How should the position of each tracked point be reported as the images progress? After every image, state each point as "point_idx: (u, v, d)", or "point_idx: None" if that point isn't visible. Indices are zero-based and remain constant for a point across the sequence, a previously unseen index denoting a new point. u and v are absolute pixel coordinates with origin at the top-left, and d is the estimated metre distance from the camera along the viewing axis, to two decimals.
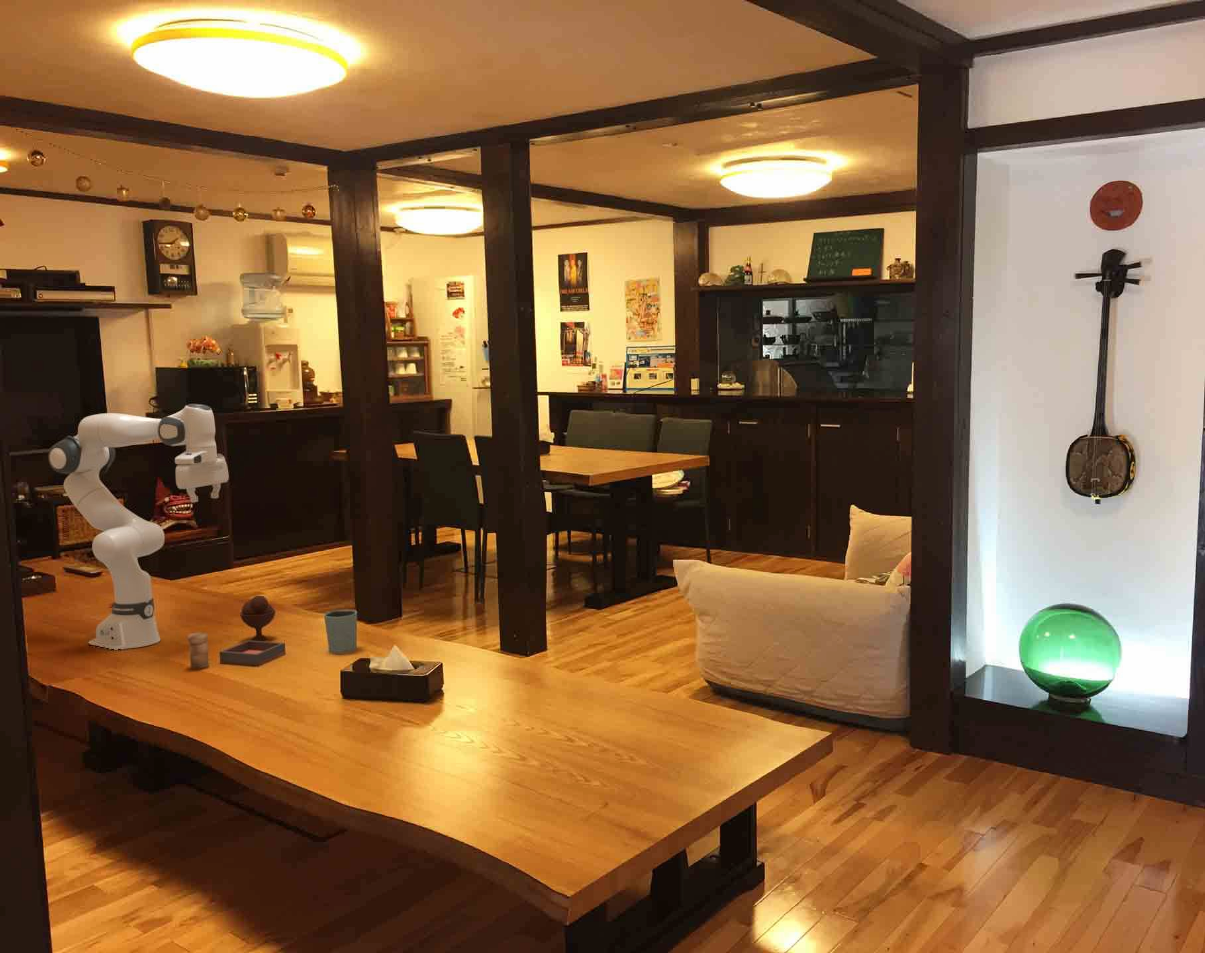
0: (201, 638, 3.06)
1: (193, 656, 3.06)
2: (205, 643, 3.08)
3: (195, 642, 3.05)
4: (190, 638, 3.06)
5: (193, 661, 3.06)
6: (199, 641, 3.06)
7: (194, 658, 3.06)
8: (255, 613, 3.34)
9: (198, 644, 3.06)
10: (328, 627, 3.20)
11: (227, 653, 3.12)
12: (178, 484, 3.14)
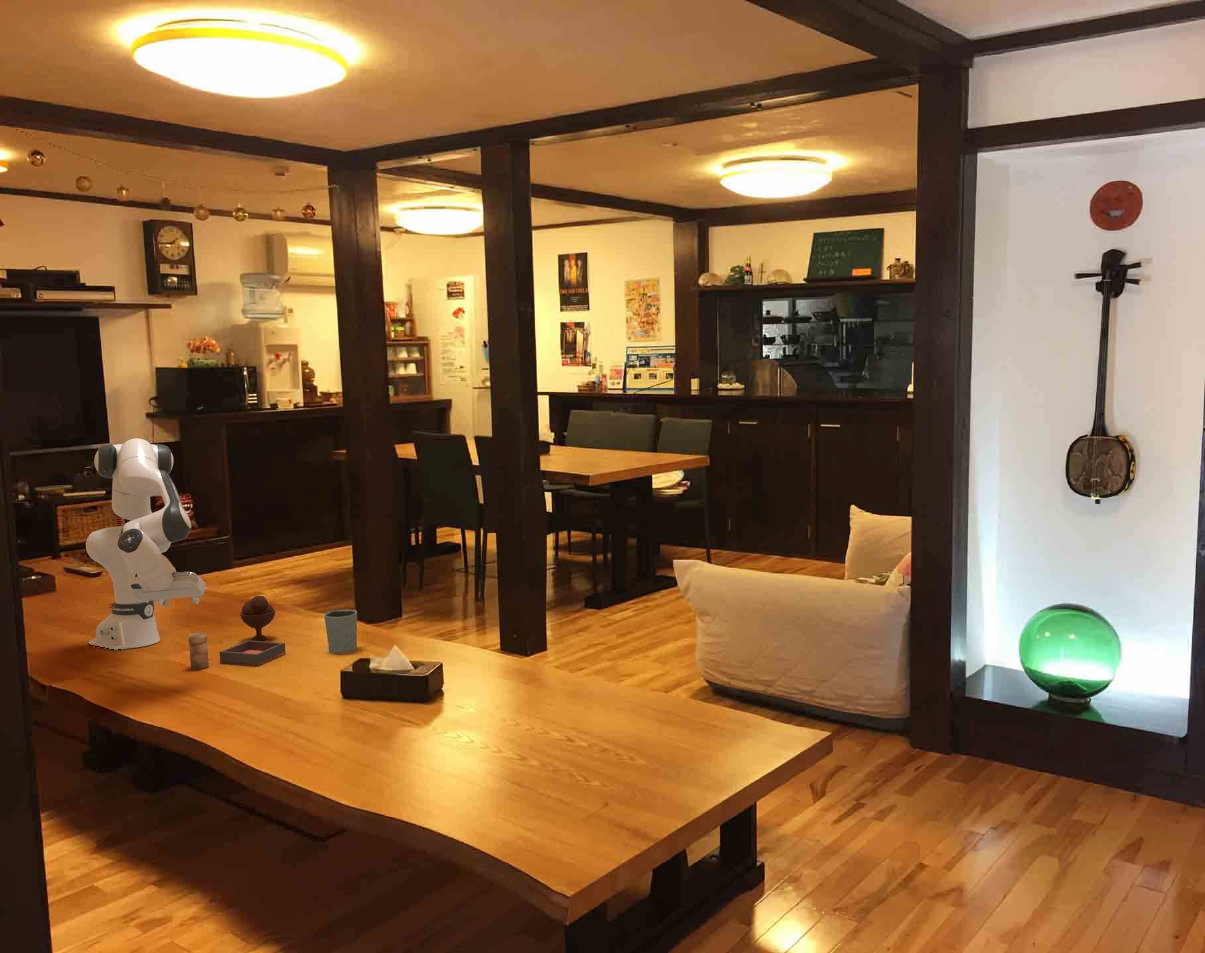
0: (201, 638, 3.06)
1: (193, 656, 3.06)
2: (205, 643, 3.08)
3: (195, 642, 3.05)
4: (190, 638, 3.06)
5: (193, 661, 3.06)
6: (199, 641, 3.06)
7: (194, 658, 3.06)
8: (255, 613, 3.34)
9: (198, 644, 3.06)
10: (328, 627, 3.20)
11: (227, 653, 3.12)
12: None
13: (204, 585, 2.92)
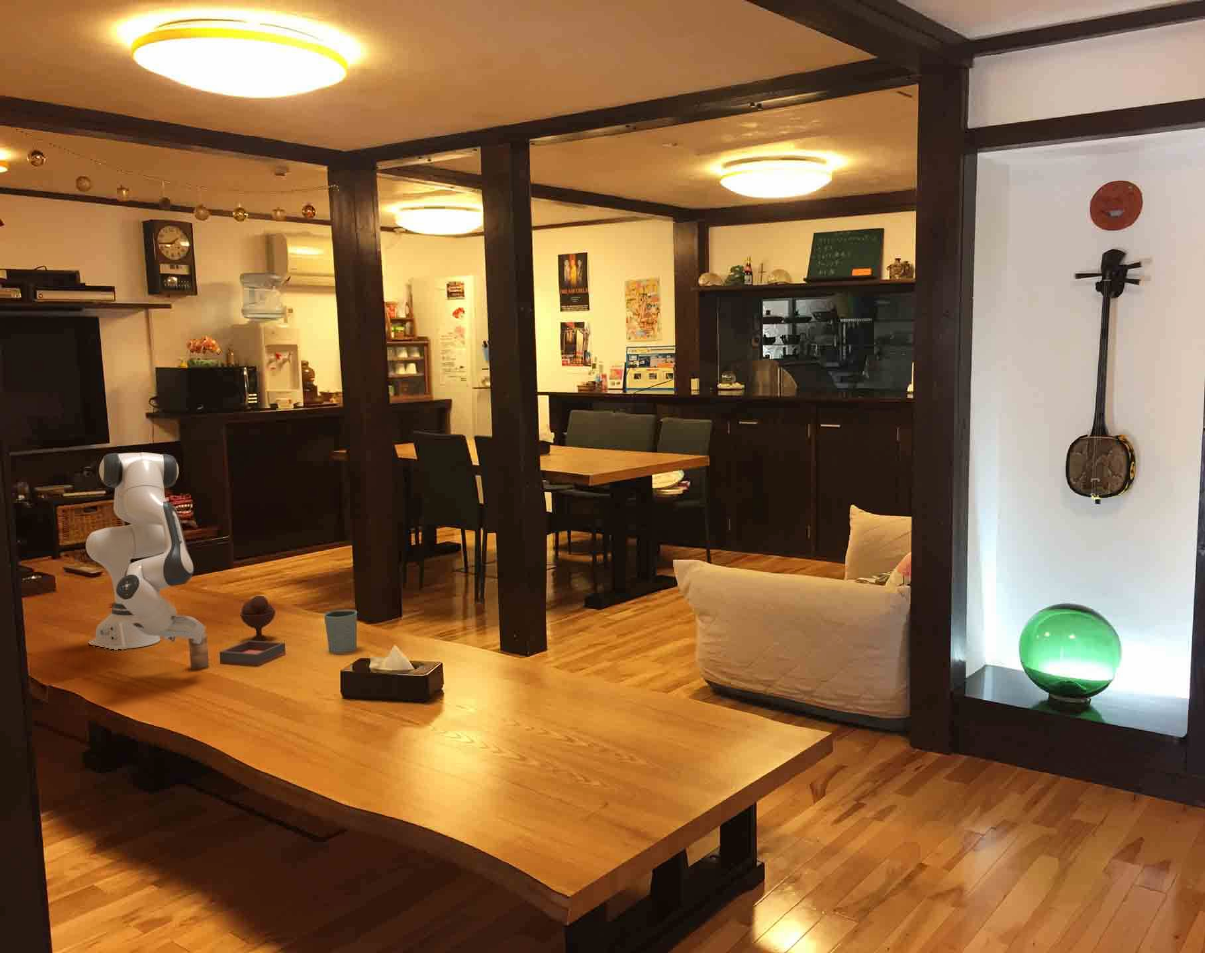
0: None
1: (193, 656, 3.06)
2: (205, 643, 3.08)
3: None
4: (190, 638, 3.06)
5: (193, 661, 3.06)
6: None
7: (194, 658, 3.06)
8: (255, 613, 3.34)
9: (198, 644, 3.06)
10: (328, 627, 3.20)
11: (227, 653, 3.12)
12: None
13: (203, 629, 2.96)
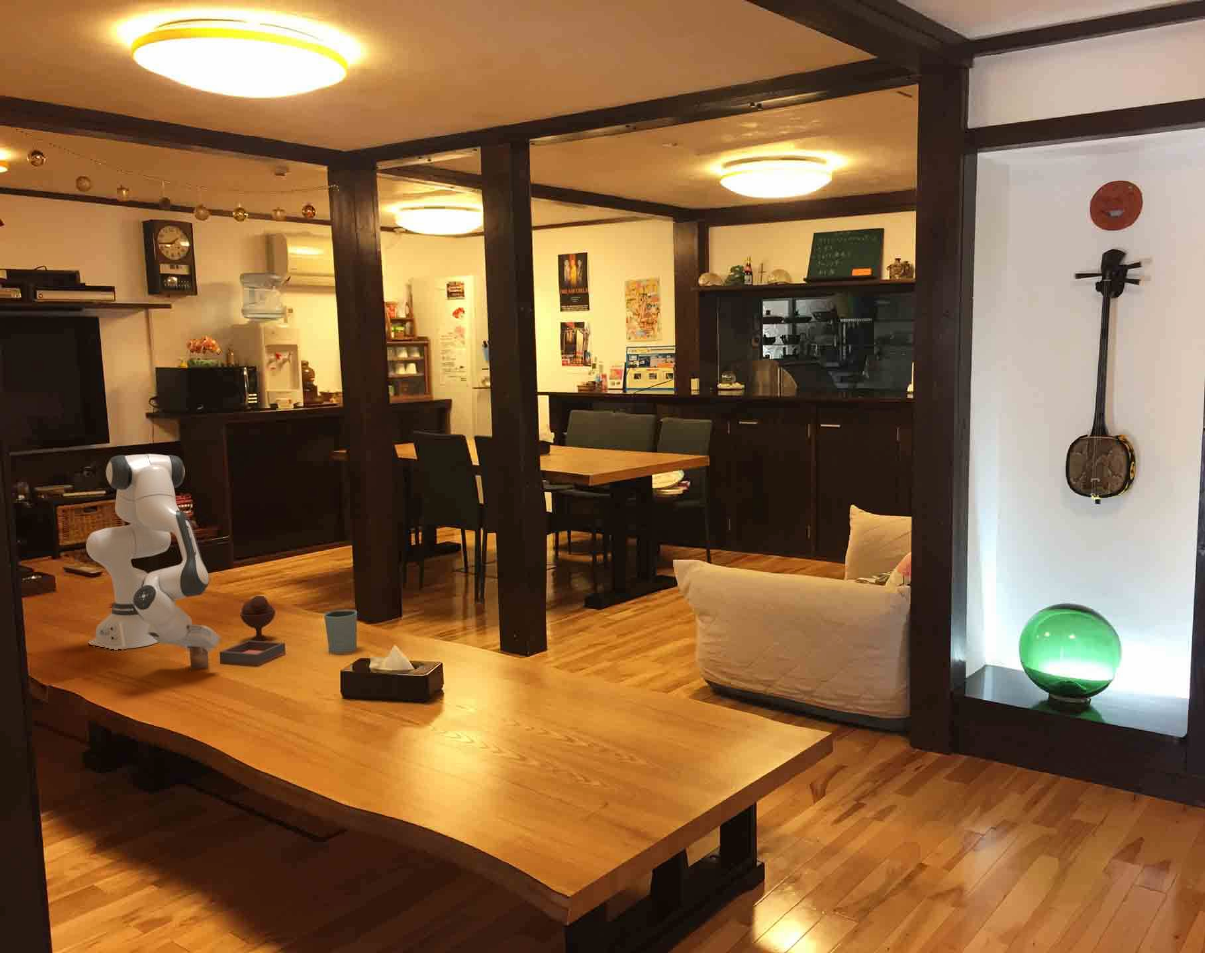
0: None
1: (193, 656, 3.06)
2: None
3: None
4: None
5: (193, 661, 3.06)
6: None
7: (194, 658, 3.06)
8: (255, 613, 3.34)
9: None
10: (328, 627, 3.20)
11: (227, 653, 3.12)
12: None
13: (218, 638, 3.01)
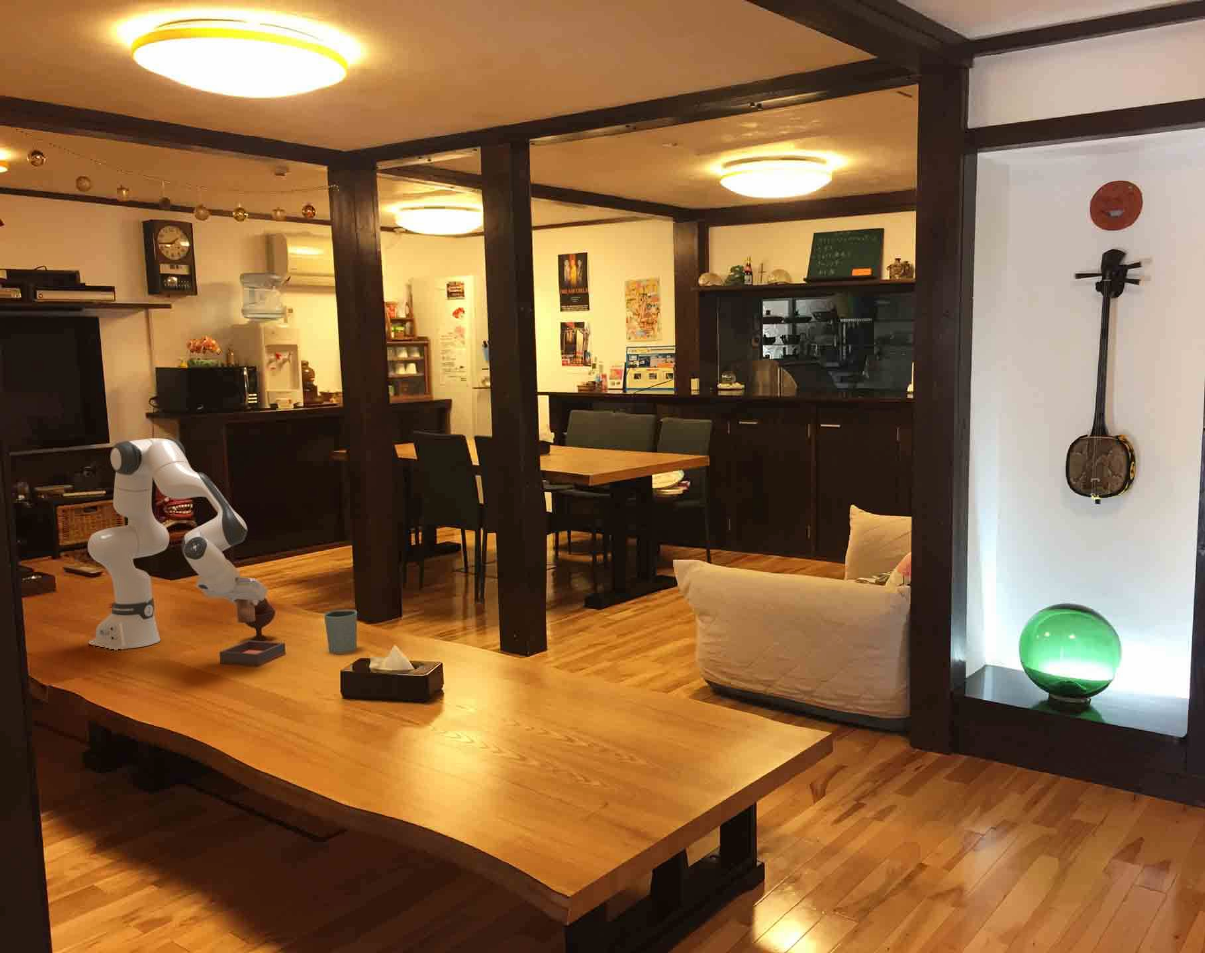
0: None
1: (240, 609, 3.12)
2: None
3: None
4: None
5: (240, 614, 3.12)
6: None
7: (241, 611, 3.12)
8: (255, 613, 3.34)
9: None
10: (328, 627, 3.20)
11: (227, 653, 3.12)
12: None
13: (265, 590, 3.07)
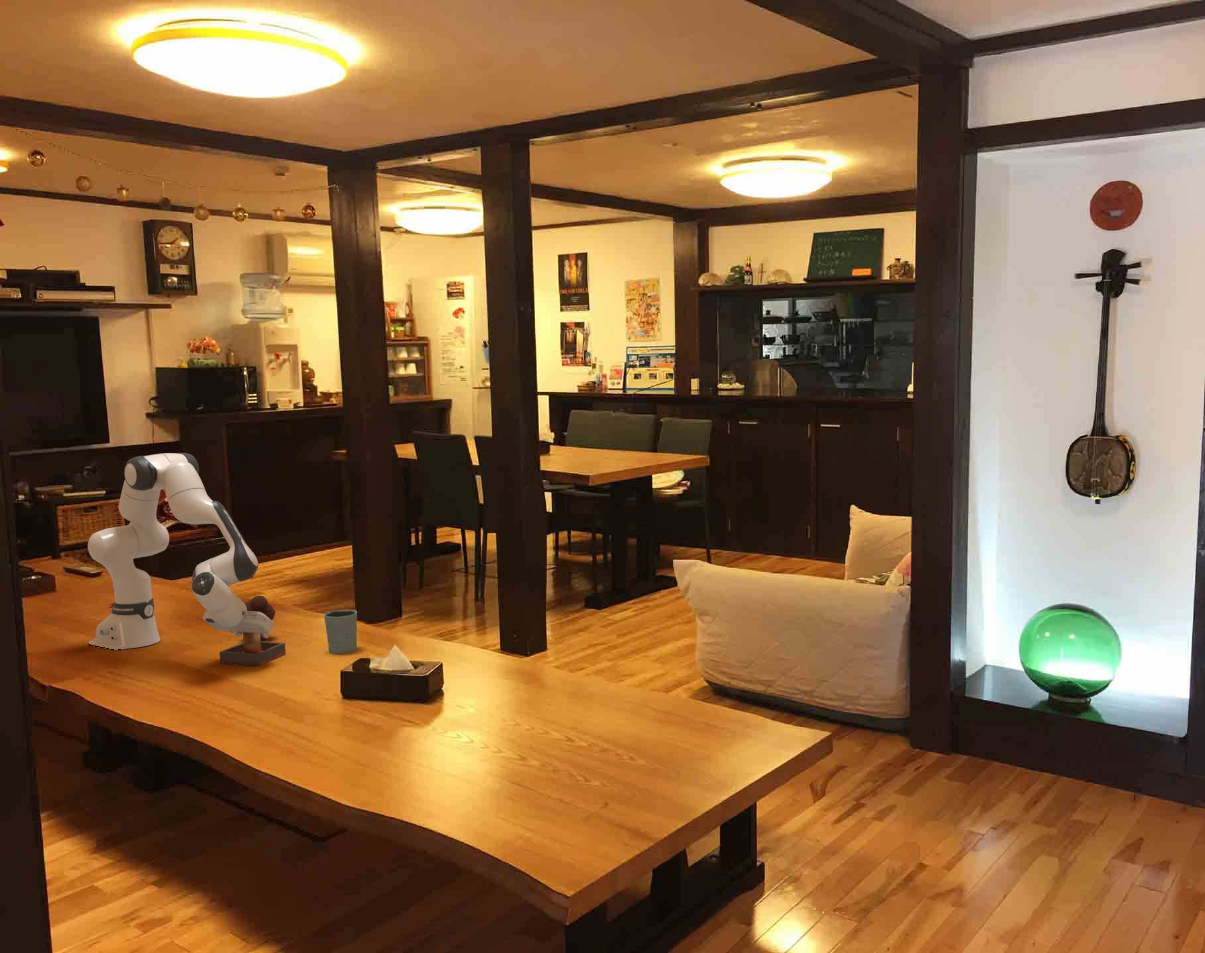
0: None
1: (247, 645, 3.14)
2: None
3: None
4: None
5: (246, 650, 3.14)
6: None
7: (248, 647, 3.14)
8: None
9: (252, 633, 3.14)
10: (328, 627, 3.20)
11: (227, 653, 3.12)
12: None
13: (271, 624, 3.09)
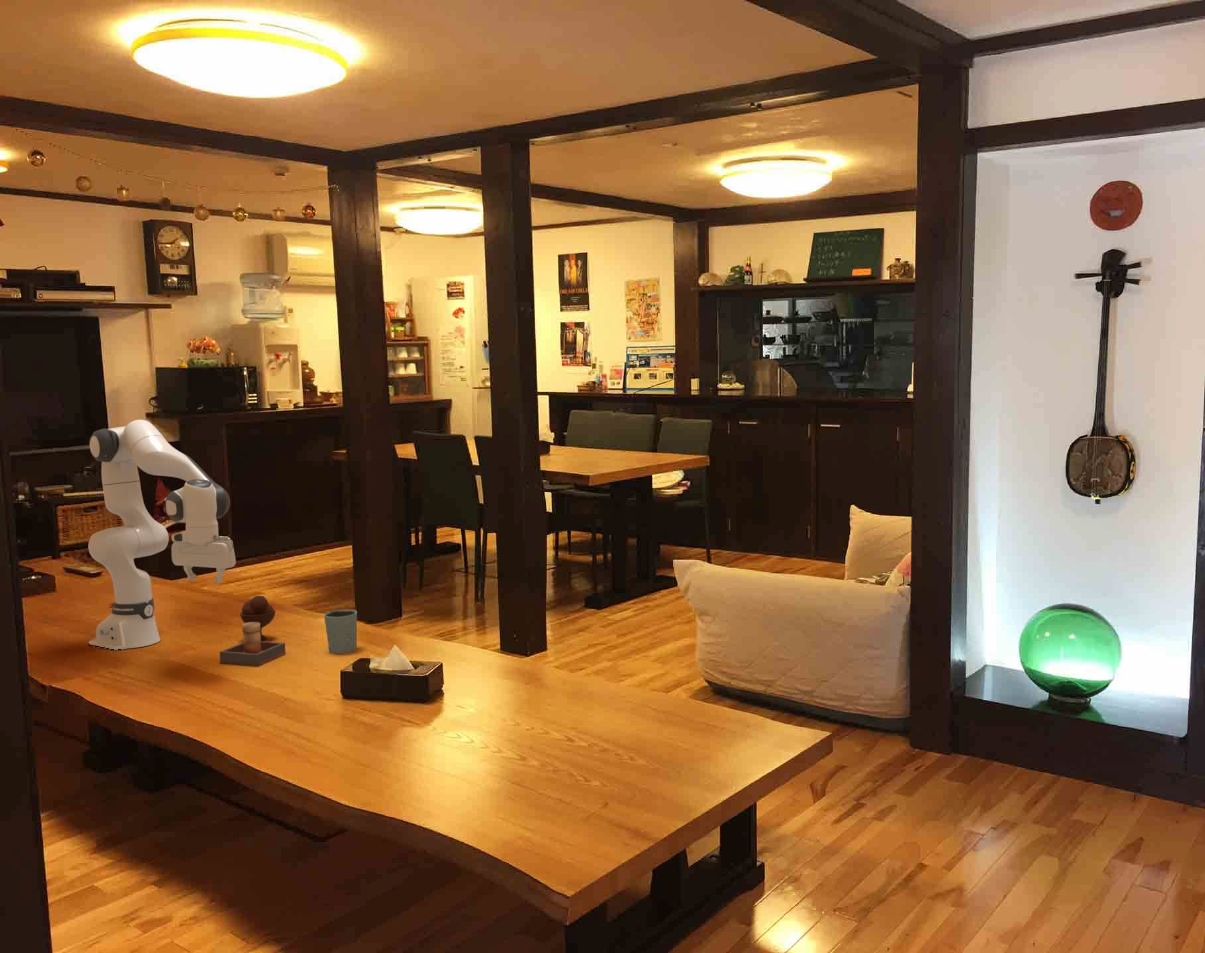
0: (255, 627, 3.14)
1: (247, 645, 3.14)
2: (258, 632, 3.16)
3: (249, 631, 3.13)
4: (244, 627, 3.14)
5: (246, 650, 3.14)
6: (253, 630, 3.14)
7: (248, 647, 3.14)
8: (255, 613, 3.34)
9: (252, 633, 3.14)
10: (328, 627, 3.20)
11: (227, 653, 3.12)
12: None
13: (234, 561, 3.00)
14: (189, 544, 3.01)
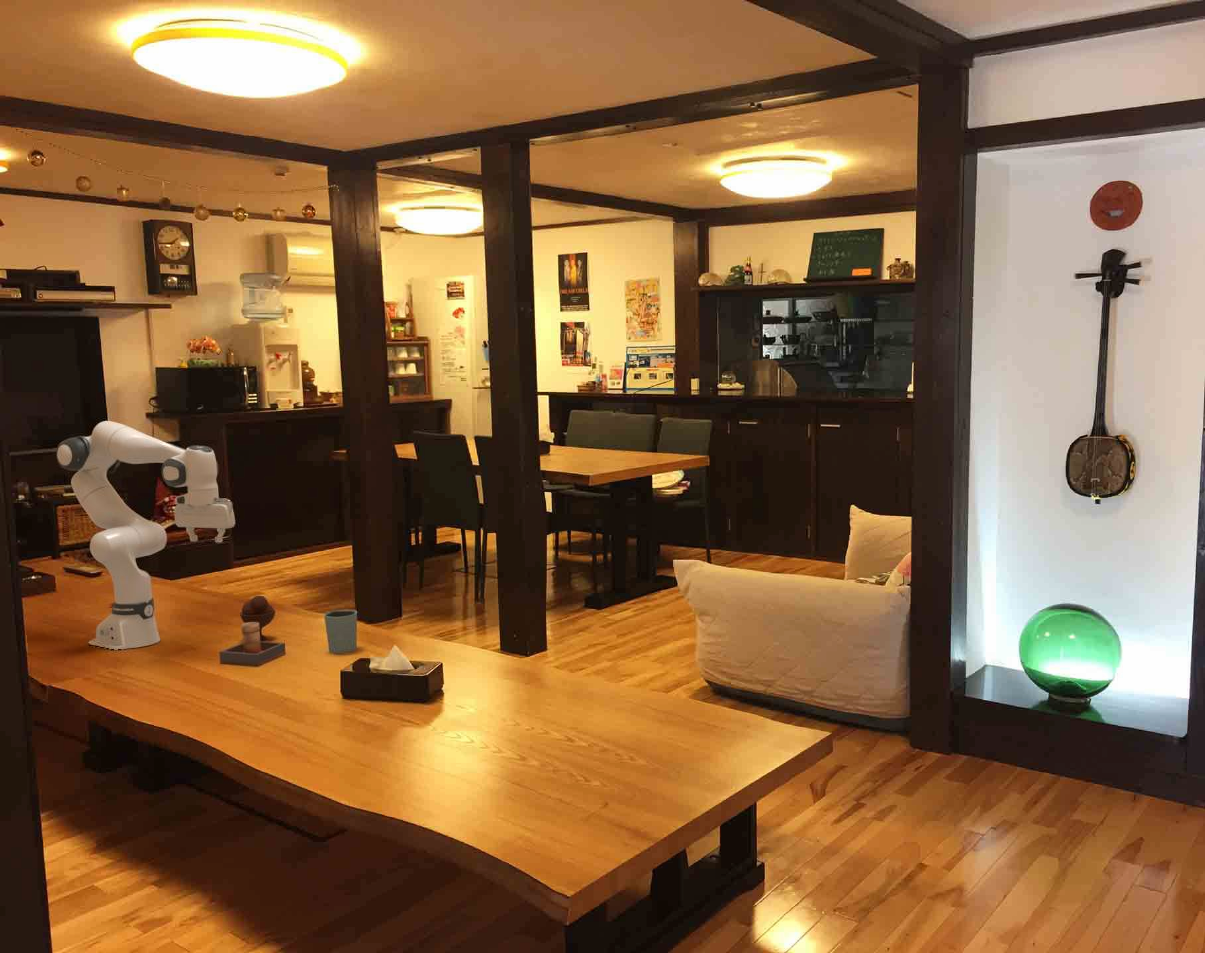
0: (254, 627, 3.14)
1: (246, 645, 3.14)
2: (258, 632, 3.15)
3: (248, 631, 3.13)
4: (243, 627, 3.14)
5: (246, 650, 3.14)
6: (252, 630, 3.14)
7: (247, 647, 3.14)
8: (255, 613, 3.34)
9: (251, 633, 3.14)
10: (328, 627, 3.20)
11: (227, 653, 3.12)
12: None
13: (233, 522, 3.20)
14: (191, 506, 3.20)
